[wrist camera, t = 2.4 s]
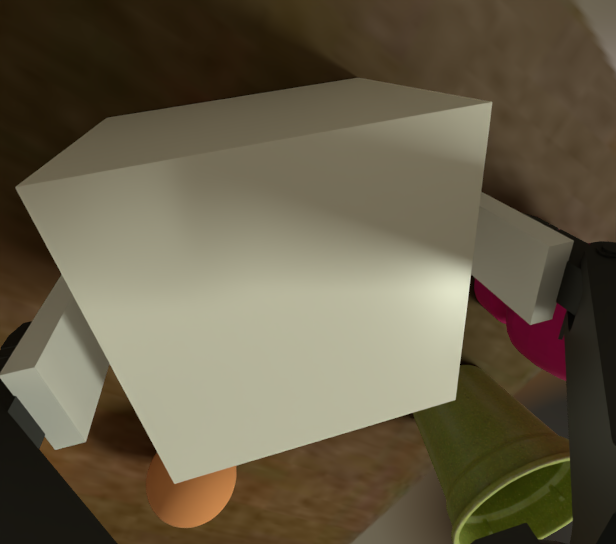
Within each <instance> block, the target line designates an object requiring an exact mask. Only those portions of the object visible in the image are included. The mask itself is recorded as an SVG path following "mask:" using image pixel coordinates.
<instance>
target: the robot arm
mask: <svg viewBox="0 0 616 544" xmlns="http://www.w3.org/2000/svg"><path fill="white" fill-rule="evenodd" d="M471 275H473V276H474V277H475V278H476V279H477V280H478V281H480V282H481V283H482V284H483V285H484V286H485V287H487V288H488V289H489V290H490V291H491V292H492V293H493V294H495V295H496V296H497V297H498V298H499V299H500V300H502V301H503V302H504V303H505V304H506V305H507V306H509V307H510V308H511V309H512V310H513V311H514V312H516V313H517V314H518V315H519V316H520V317H521V318H523V319H524V320H525V321H526V322H527V323H528V324H530V325H532V324H536V323H540V322H544V321H547V320H551V319H552V318H553V314H554V311H555V307H556V304H557V303H558V304H559V305H561V306H562V307H563V308H565V309H566V314H565V317H564V320H563V324H562V327H561V330H560V334H559V337H558V339H560V340H562V339H563V337H564V341H565V363H566V383H567V384H566V385H567V405H568V428H569V450H570V472H571V493H572V515H573V526H572V535H571V540H570V544H616V243H615V242H601V241H600V242H593V243H590V244H588V243H586V242H584V241H582V240H580V239H578V238H576V237H574V236H572V235H570V234H569V233H567V232H565V231H563V230H561V229H560V230H558V228H557V227H555V226H553V225H549V223H547V222H545V221H543V220H541V219H540V218H538V217H535V216H531V215H527V214H524V213H521V212H519V211H517V210H515V209H513V208H511V207H509V206H507V205H505V204H504V203H502V202H500V201H498V200H496V199H494V198H492V197H490V196H488V195H487V194H485V193H483V192H481V198H480V206H479V214H478V222H477V230H476V238H475V246H474V254H473V262H472V270H471ZM108 367H109V361H108V360H107V358H106V356H105V354H104V352H103V350H102V348H101V347H100V345H99V343H98V341H97V339H96V337H95V335H94V334H93V332H92V330H91V328H90V326H89V324H88V322H87V320H86V319H85V317H84V315H83V313H82V311H81V309H80V307H79V306H78V304H77V302H76V300H75V298H74V296H73V294H72V293H71V291H70V289H69V287H68V285H67V283H66V281H65V280H64V278H63V276H62V275H61V276H60V278H59V279H58V281H57V283H56V284H55V286H54V287H53V289H52V291H51V292H50V294H49V295H48V297H47V299H46V300H45V302H44V303H43V305H42V307H41V308H40V310H39V311H38V313H37V315H36V316H35V318H34V319H33V321H31V322H27V323H23V324H22V325H21V326H20V327H18V328H17V329H16V330H15V331H14V332H13V333H11V334H10V335H9V336H8V338H7V339H6V341H5V342H4V344H3V345H2V347H1V350H0V544H117V543H116V541H115V540H114V539H113V538H112V537H111V535H110V534H109V533H108V532H107V531H106V529H105V528H104V527H103V526H102V525H101V523H100V522H99V521H98V520H97V519H96V517H95V516H94V515H93V514H92V513H91V511H90V510H89V509H88V508H87V507H86V505H85V504H84V503H83V502H82V501H81V499H80V498H79V497H78V496H77V494H76V493H75V492H74V491H73V490H72V488H71V487H70V486H69V485H68V484H67V482H66V481H65V480H64V479H63V478H62V476H61V475H60V474H59V473H58V472H57V470H56V469H55V468H54V467H53V466H52V464H51V463H50V462H49V461H48V460H47V458H46V457H45V456H44V455H43V454H42V452H41V451H40V450H39V448H40V446H41V443H42V441H43V439H44V436H45V437H46V439H47V440H48V441H49V442H50V444H51V445H52V446H53V448H54V449H55V450H57V449H61V448H64V447H68V446H72V445H76V444H80V443H83V442H86V440H87V437H88V433H89V430H90V427H91V423H92V420H93V417H94V413H95V410H96V407H97V403H98V400H99V397H100V393H101V390H102V387H103V383H104V380H105V377H106V373H107V370H108ZM470 544H566V543H561V542H557V541H550V540H543V539H537V537H536V536H535V534H534V533H533V531H532V530H531V528H530V527H529V525H528V524H527V522H526V523H523V524H520V525H517V526H514V527H511V528H508V529H505V530H503V531H500V532H497V533H494V534H491V535H488V536H485V537H482V538H479V539H476V540H474V541H473V542H472V543H470Z"/></svg>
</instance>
